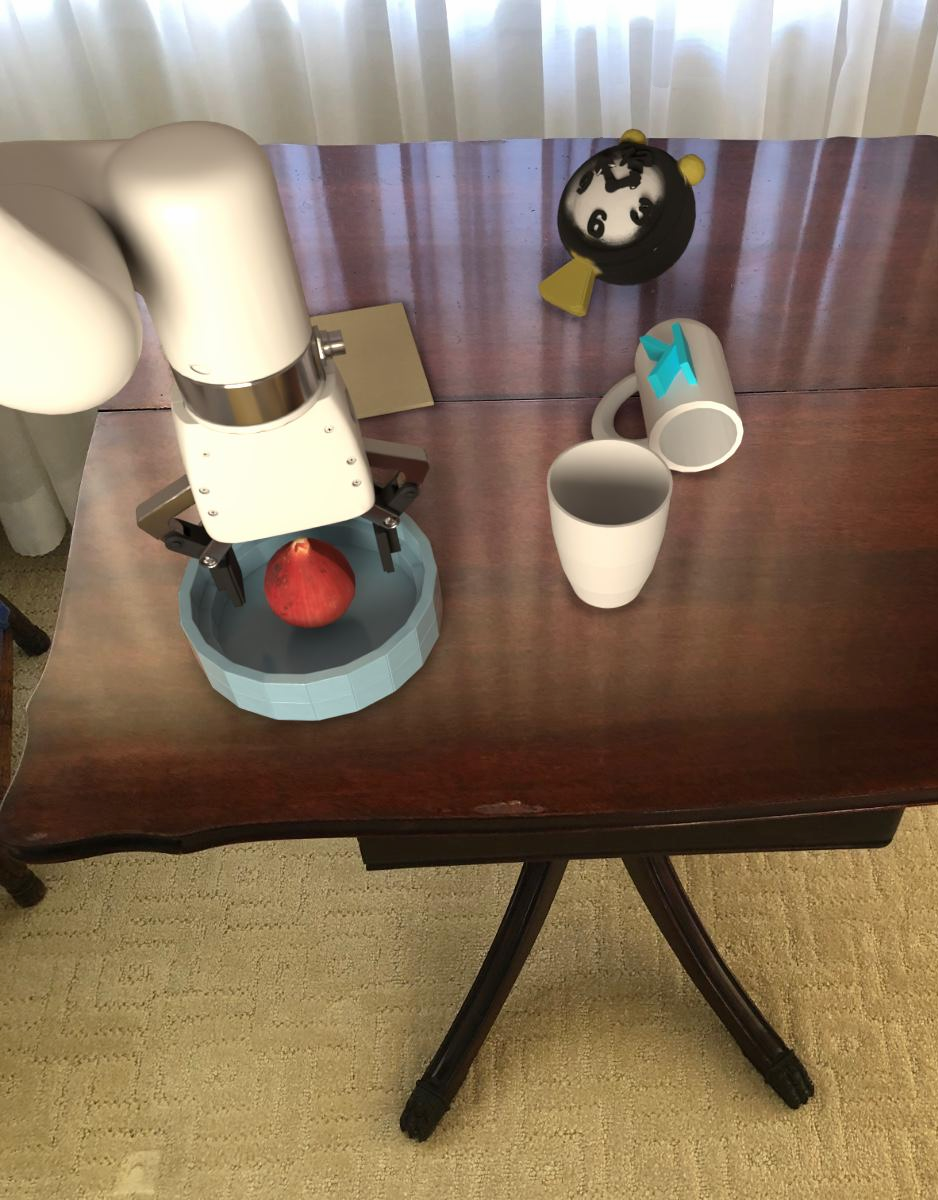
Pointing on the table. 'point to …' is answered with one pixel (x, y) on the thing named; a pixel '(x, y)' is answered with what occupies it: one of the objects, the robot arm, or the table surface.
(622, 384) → the mug
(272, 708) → the pan
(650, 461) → the cup
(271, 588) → the onion
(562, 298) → the alarm clock
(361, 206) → the table surface
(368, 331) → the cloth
